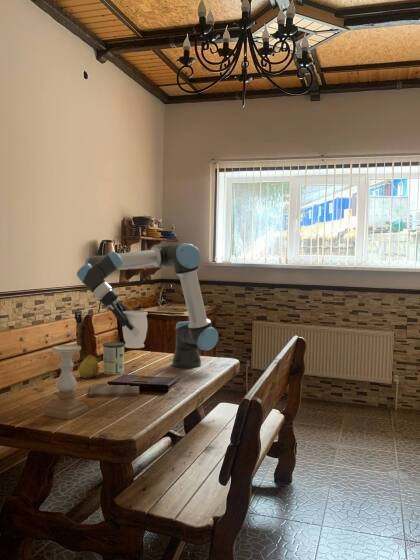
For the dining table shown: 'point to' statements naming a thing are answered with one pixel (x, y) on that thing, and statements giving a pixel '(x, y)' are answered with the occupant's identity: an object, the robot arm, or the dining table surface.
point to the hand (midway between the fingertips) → (141, 333)
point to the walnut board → (113, 390)
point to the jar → (141, 324)
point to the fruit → (88, 367)
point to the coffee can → (113, 358)
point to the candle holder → (66, 387)
